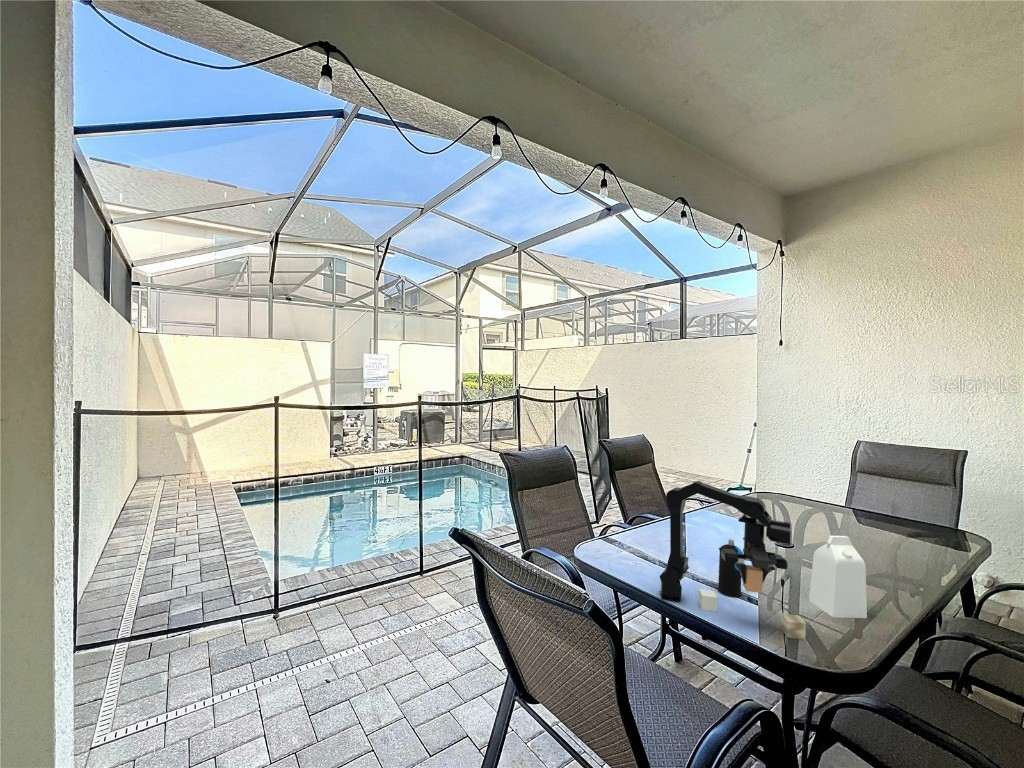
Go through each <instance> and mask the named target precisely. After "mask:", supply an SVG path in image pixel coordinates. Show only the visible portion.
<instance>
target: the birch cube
mask: <svg viewBox="0 0 1024 768" xmlns="http://www.w3.org/2000/svg"><path fill="white" fill-rule="evenodd" d="M780 618H781V619H780V629H781V631H782V632H783V633H784V634H785V636H786V638H791V639H796V640H797V639H799V640H805V641H806V631H807V626H806V625H807V623H806V622H805V621H804V620H803V618H802V617H801V616H800V615H796V614H790V613H783V612H782V613H781V615H780Z"/></svg>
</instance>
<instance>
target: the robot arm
mask: <svg viewBox="0 0 1024 768" xmlns="http://www.w3.org/2000/svg"><path fill="white" fill-rule="evenodd" d="M695 495H700V496H703V497H706V498H709V499H711V500H714V501H717V502H719V503H722V504H724V505H727V506H730V507H732V508H735V509H736V510H737V511H739V512H740V513H741V514H743V515H742V516H740V517H739V518H738V523H743V524H744V530H743V531H744V534H743V537H742V538H743V539H742V540H743V548H742V552H743V554H739V553H736V552H735V551H734V550H733V549H724V548H723V549H722V550H721V557H722V558H723V560H724V561H725V562H728V563H735V565H737V566H738V568H739V571H740V574H741V581H742V584H743V583H744V584H745V583H746V572H745V568H746V565H747V564H745V561H750V562H751V565H752V566H753V567H755V568H760V569H761V570H762V571H763V582H762V585H763V583H764V582H765V579H766V578H767V576H768V574H769V573H770V572H772V571H775V570H776V568H777V569H781V570H788V569H789V568H788V566H789V564H788V560H786V559H785V558H784V557H783V555H781V554H778V553H775V552H772V551H771V552H770V551H767V550H766V543H765V537H766V538H767V539H769V541H770V542H775V543H779V544H780V543H781V544H783V545H784V544H785V545H791V544H792V543H791V542H792V531H791V522H788V521H780V520H775V519H773V518H772V516H771V515H770V514H769V512H768V511H767V510H766V504H765V502H764V501H763V500H762V499H760V498H758V497H754V496H749V495H748V496H747V495H740V494H735V493H733V492H730V491H727V490H724V489H722V488H718V487H715V486H712V485H710V484H707V483H704V482H702V481H700V480H695V481H694V482H693V483H690V484H688V485H685V486H683V487H678V486H677V487H674V488H671V489H670V490H668V492H666V494H665V499H666V505H667V509H668V512H669V521H670V522H669V526H670V527H669V528H670V529H669V532H670V534H669V535H670V536H669V538H670V544H669V546H670V547H669V548H670V549H669V550H670V552H669V557H668V560H667V563H666V567H665V569H664V570H663V572H661V574H660V575H659V579H660V589H659V593H660V598H661V597H662V598H661V599H662V600H664V599H666V601H673V602H679V603H680V602H681V598H682V589H683V587H682V583H681V581H680V580H681V579H682V578H683V577H684V576H685V574H686V573H687V571H688V570H689V569H690V567H689V556H685V554H684V540H683V539H684V538H683V537H684V536H683V535H684V532H683V527H684V526H683V524H684V522H683V519H684V518H683V515H684V510H685V506H686V502H687V499H688V498H689V499H690V498H691V497H693V496H695ZM765 528H766V529H765ZM765 530H766V531H765ZM765 534H766V535H765Z"/></svg>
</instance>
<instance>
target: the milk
mask: <svg viewBox="0 0 1024 768" xmlns="http://www.w3.org/2000/svg"><path fill="white" fill-rule="evenodd" d="M866 572H867V571H866V562H865V561H864V559H863V558H862V556H861V555H860V554H859V552H858V551H857V550H856V548H855V547H854V546H853V543H852V542H851V538H850V537H849V536H847V535H829V537H828V539H827V542H826V543H825V544H823V545H822V546H820V547H818V548H817V549H815V551H814V552H813V559H812V567H811V575H810V576H811V577H810V584H809V585H810V588H809V593H808V594H809V596H808V602H810V603H812V604H813V605H814V606H816V607H817V608H818V609H820V610H822V611H823V612H825V613H826V614H827V615H829V616H830V617H832V618H837V619H838V618H840V619H841V618H842V619H843V618H844V619H846V618H848V619H850V618H851V619H867V618H868V616H867V614H868V610H867V609H868V608H867V573H866Z"/></svg>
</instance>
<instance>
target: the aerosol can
mask: <svg viewBox="0 0 1024 768" xmlns="http://www.w3.org/2000/svg"><path fill="white" fill-rule="evenodd" d="M727 540H728V543H727V544H723V545H721V546H720V547H719V548H718V550H719V554H718V555H719V558H718V561H719V562H718V586H717V592H718V593H720V594H722V595H723V596H726V597H730V598H740V597H742V577H741V574H740V571H739V568H738V566H737V565H735V563H728V562H725V561H724V560H723V558H722V557H721V550H722V549H723V548H724V549H733V550H734V551H735V552H736V553H739V554H744V552H743V550H741V549H740V547H738V546H736V545H735V539H733V538H728V539H727Z"/></svg>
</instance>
